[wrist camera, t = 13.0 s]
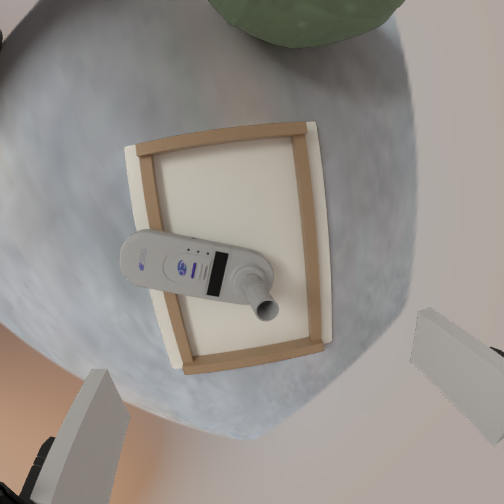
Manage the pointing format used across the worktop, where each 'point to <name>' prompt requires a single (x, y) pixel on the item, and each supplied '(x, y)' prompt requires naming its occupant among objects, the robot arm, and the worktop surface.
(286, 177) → the wooden framed canvas
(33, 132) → the worktop surface
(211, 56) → the worktop surface
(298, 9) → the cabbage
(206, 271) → the electronic device
